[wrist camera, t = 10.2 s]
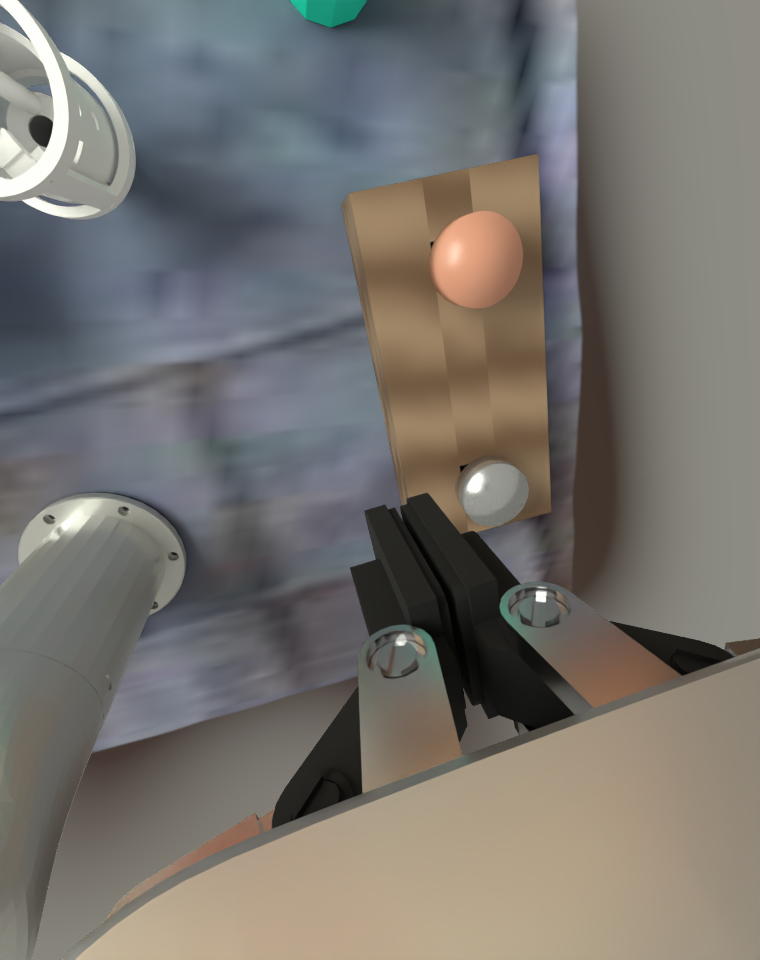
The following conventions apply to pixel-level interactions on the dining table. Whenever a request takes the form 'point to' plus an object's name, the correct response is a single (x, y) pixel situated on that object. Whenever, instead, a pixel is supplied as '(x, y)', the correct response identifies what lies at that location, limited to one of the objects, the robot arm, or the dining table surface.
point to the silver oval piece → (491, 490)
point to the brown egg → (476, 260)
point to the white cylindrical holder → (58, 128)
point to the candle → (329, 10)
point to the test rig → (454, 335)
